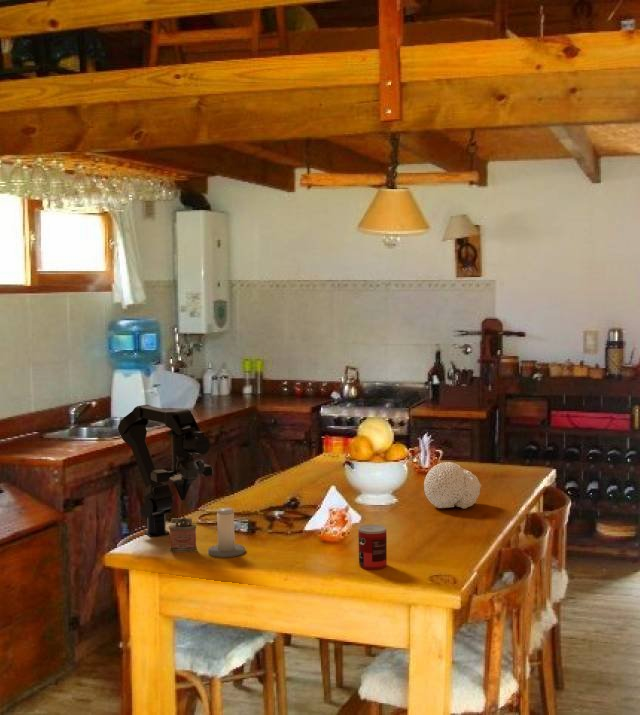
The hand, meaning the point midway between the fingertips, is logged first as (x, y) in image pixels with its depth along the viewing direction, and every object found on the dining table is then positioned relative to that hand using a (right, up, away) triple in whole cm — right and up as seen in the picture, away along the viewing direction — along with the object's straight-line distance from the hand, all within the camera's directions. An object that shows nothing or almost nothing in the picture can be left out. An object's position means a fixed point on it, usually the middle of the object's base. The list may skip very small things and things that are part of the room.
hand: (183, 500), depth 303 cm
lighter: (+1, -14, -8) cm, 16 cm away
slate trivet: (+15, -14, -11) cm, 23 cm away
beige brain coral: (+88, -8, +39) cm, 97 cm away
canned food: (+57, -15, -26) cm, 65 cm away
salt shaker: (+14, -13, -11) cm, 22 cm away
